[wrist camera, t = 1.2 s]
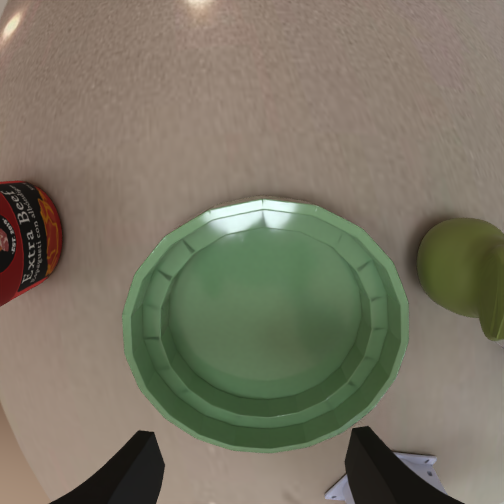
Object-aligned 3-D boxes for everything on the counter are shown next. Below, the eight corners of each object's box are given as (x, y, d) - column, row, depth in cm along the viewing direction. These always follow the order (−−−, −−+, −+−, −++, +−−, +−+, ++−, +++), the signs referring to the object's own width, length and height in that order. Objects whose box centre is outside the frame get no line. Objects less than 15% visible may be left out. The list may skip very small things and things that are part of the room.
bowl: (417, 260, 19) (454, 280, 14) (310, 429, 22) (318, 471, 17) (201, 154, 17) (184, 146, 13) (124, 360, 20) (100, 396, 16)
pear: (463, 286, 19) (557, 345, 9) (403, 299, 19) (490, 380, 9) (465, 209, 18) (576, 234, 8) (401, 215, 18) (512, 249, 8)
